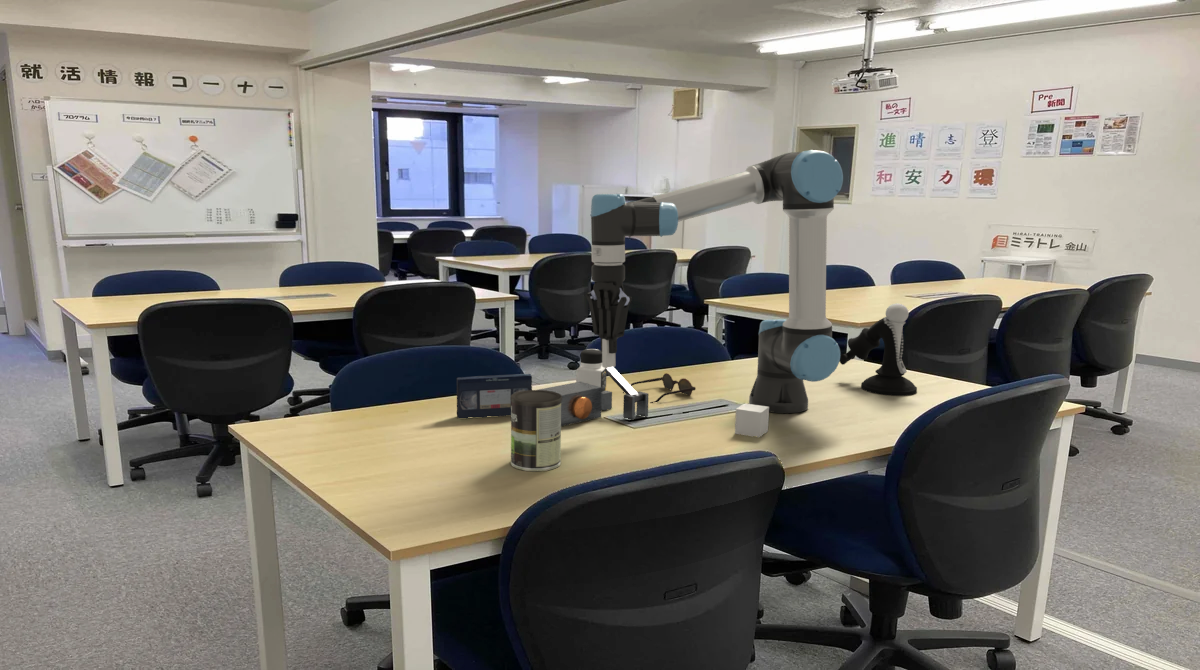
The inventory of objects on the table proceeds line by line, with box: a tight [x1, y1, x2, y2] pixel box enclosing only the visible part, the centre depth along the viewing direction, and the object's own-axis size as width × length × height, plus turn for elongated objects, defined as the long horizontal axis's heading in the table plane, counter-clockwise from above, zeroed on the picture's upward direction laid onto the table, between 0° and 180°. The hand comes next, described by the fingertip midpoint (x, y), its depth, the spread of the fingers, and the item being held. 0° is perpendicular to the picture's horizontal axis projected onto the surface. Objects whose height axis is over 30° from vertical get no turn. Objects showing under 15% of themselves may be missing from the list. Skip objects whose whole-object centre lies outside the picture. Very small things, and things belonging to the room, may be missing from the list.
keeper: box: [604, 366, 644, 403], centre depth 203 cm, size 12×3×2 cm, turn 43°
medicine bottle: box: [575, 348, 607, 391], centre depth 224 cm, size 7×7×12 cm
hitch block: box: [537, 381, 602, 427], centre depth 198 cm, size 8×14×8 cm, turn 133°
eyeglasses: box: [622, 372, 696, 404], centre depth 224 cm, size 15×15×5 cm
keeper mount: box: [601, 390, 649, 420], centre depth 204 cm, size 14×6×6 cm, turn 43°
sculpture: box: [839, 303, 918, 397], centre depth 236 cm, size 15×24×25 cm, turn 45°
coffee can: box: [510, 389, 562, 472], centre depth 165 cm, size 10×10×14 cm
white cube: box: [734, 403, 770, 438], centre depth 190 cm, size 6×6×6 cm
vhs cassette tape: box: [455, 373, 533, 419], centre depth 200 cm, size 18×3×10 cm, turn 105°
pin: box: [572, 396, 592, 419], centre depth 199 cm, size 13×5×5 cm, turn 43°
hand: (608, 366), depth 187 cm, fingers closed
